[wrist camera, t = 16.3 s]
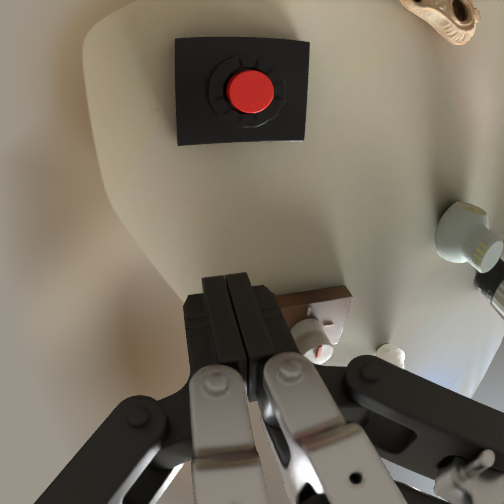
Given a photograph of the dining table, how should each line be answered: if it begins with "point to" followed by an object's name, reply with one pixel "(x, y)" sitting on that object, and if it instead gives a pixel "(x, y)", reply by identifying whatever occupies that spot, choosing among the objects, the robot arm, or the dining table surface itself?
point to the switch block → (215, 83)
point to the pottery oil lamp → (447, 17)
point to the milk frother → (493, 286)
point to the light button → (250, 91)
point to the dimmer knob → (312, 340)
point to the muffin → (391, 355)
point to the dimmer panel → (318, 309)
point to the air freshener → (467, 237)
